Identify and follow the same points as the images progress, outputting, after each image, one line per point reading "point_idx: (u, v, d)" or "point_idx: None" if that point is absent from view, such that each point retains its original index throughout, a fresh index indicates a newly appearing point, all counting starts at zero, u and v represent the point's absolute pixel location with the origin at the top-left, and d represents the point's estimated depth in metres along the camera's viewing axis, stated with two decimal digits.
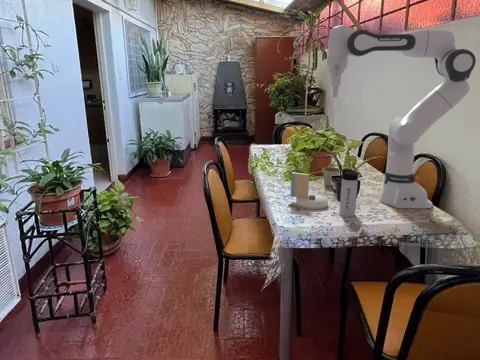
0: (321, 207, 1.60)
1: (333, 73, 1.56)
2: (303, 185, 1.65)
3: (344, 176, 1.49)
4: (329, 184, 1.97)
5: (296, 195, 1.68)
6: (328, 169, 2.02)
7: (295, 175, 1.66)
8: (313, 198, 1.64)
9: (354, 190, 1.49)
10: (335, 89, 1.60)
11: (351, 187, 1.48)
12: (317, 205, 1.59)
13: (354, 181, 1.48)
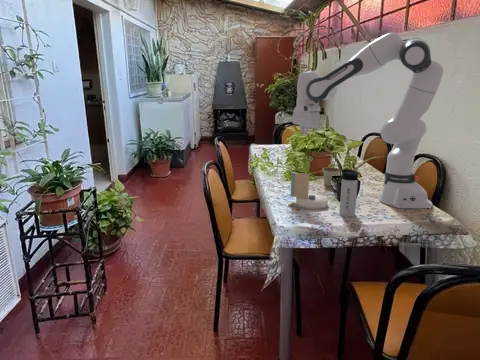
0: (321, 207, 1.60)
1: None
2: (303, 185, 1.65)
3: (344, 176, 1.49)
4: (329, 184, 1.97)
5: (296, 195, 1.68)
6: (328, 169, 2.02)
7: (295, 175, 1.66)
8: (313, 198, 1.64)
9: (354, 190, 1.49)
10: None
11: (351, 187, 1.48)
12: (317, 205, 1.59)
13: (354, 181, 1.48)
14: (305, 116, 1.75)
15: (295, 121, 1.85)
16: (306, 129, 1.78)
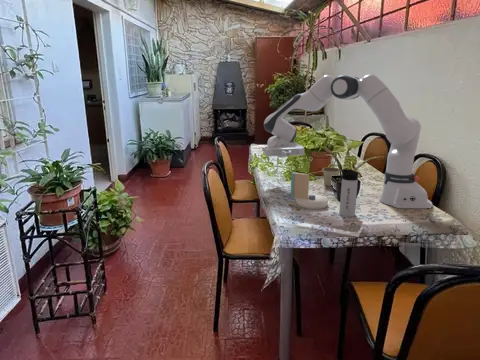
0: (321, 207, 1.60)
1: (264, 152, 1.87)
2: (303, 185, 1.65)
3: (344, 176, 1.49)
4: (329, 184, 1.97)
5: (296, 195, 1.68)
6: (328, 169, 2.02)
7: (295, 175, 1.66)
8: (313, 198, 1.64)
9: (354, 190, 1.49)
10: (281, 153, 1.81)
11: (351, 187, 1.48)
12: (317, 205, 1.59)
13: (354, 181, 1.48)
14: (288, 147, 1.87)
15: (272, 148, 1.82)
16: (291, 152, 1.81)
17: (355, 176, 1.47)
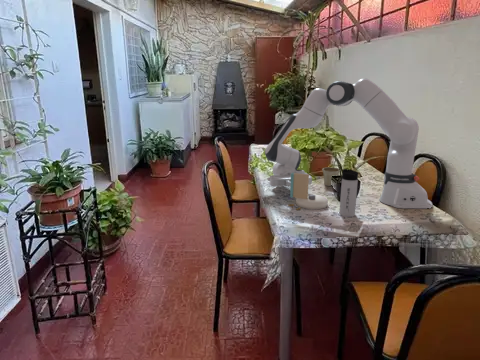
0: (323, 207, 1.61)
1: None
2: (303, 185, 1.65)
3: (344, 176, 1.49)
4: (329, 184, 1.97)
5: (296, 196, 1.67)
6: (328, 169, 2.02)
7: (295, 176, 1.65)
8: (313, 198, 1.64)
9: (354, 190, 1.49)
10: (286, 183, 1.72)
11: (351, 187, 1.48)
12: (319, 205, 1.60)
13: (354, 181, 1.48)
14: None
15: (278, 178, 1.73)
16: None
17: (355, 176, 1.47)
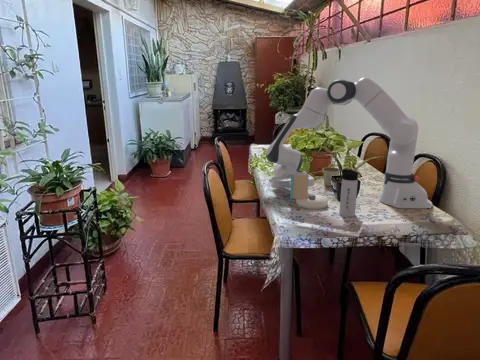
0: (325, 206, 1.62)
1: (271, 183, 1.75)
2: (303, 186, 1.64)
3: (344, 176, 1.49)
4: (329, 184, 1.97)
5: (296, 197, 1.66)
6: (328, 169, 2.02)
7: (295, 177, 1.63)
8: (314, 198, 1.65)
9: (354, 190, 1.49)
10: (289, 184, 1.69)
11: (351, 187, 1.48)
12: (322, 204, 1.60)
13: (354, 181, 1.48)
14: None
15: (280, 179, 1.71)
16: None
17: (355, 176, 1.47)
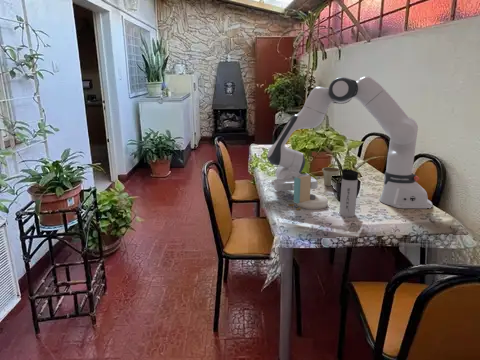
0: None
1: None
2: (307, 188, 1.61)
3: (344, 176, 1.49)
4: (329, 184, 1.97)
5: (301, 200, 1.61)
6: (328, 169, 2.02)
7: (300, 180, 1.58)
8: (315, 197, 1.65)
9: (354, 190, 1.49)
10: (292, 187, 1.65)
11: (351, 187, 1.48)
12: (327, 202, 1.64)
13: (354, 181, 1.48)
14: None
15: (282, 182, 1.67)
16: None
17: (355, 176, 1.47)
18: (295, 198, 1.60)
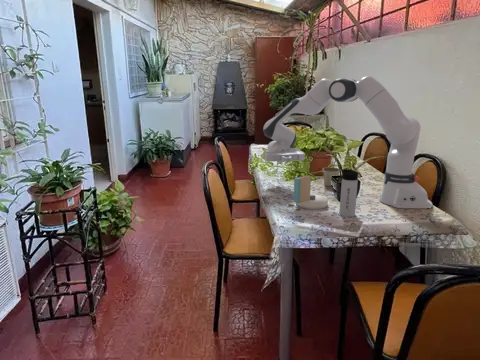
0: None
1: None
2: (307, 188, 1.61)
3: (344, 176, 1.49)
4: (329, 184, 1.97)
5: (301, 200, 1.61)
6: (328, 169, 2.02)
7: (300, 180, 1.58)
8: (315, 197, 1.65)
9: (354, 190, 1.49)
10: (282, 158, 1.81)
11: (351, 187, 1.48)
12: (327, 202, 1.64)
13: (354, 181, 1.48)
14: (289, 152, 1.88)
15: (272, 153, 1.83)
16: (291, 157, 1.82)
17: (355, 176, 1.47)
18: (295, 198, 1.60)
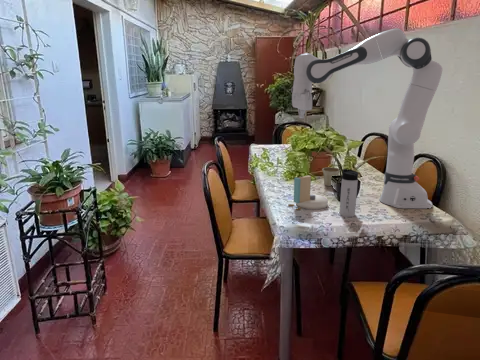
0: None
1: (306, 98, 1.69)
2: (307, 188, 1.61)
3: (344, 176, 1.49)
4: (329, 184, 1.97)
5: (301, 200, 1.61)
6: (328, 169, 2.02)
7: (300, 180, 1.58)
8: (315, 197, 1.65)
9: (354, 190, 1.49)
10: (303, 111, 1.78)
11: (351, 187, 1.48)
12: (327, 202, 1.64)
13: (354, 181, 1.48)
14: None
15: None
16: None
17: (355, 176, 1.47)
18: (295, 198, 1.60)
